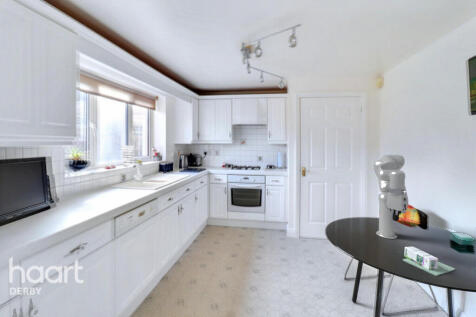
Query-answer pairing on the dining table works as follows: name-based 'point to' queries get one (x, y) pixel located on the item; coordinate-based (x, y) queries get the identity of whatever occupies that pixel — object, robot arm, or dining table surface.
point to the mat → (441, 269)
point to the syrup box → (421, 258)
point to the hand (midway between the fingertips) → (395, 220)
